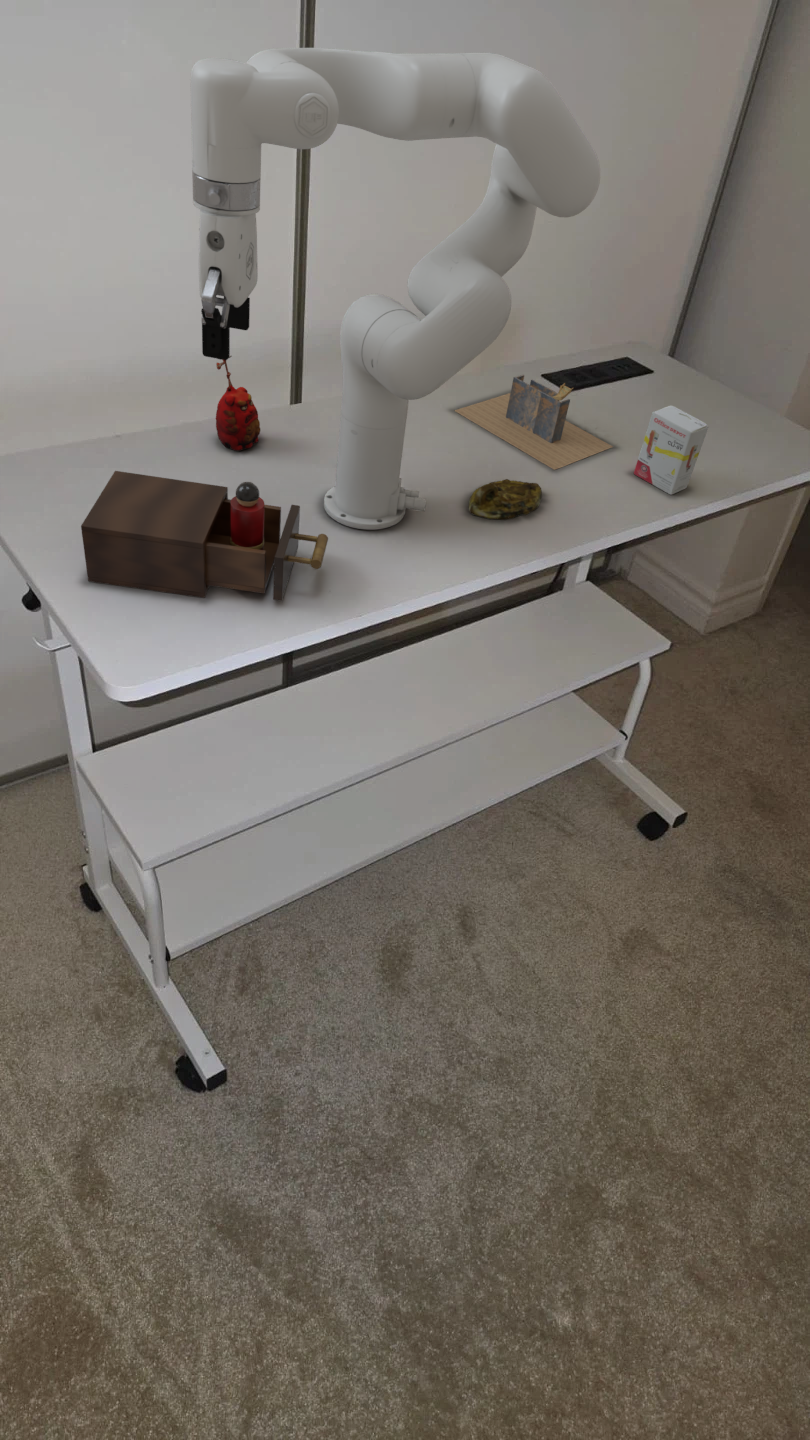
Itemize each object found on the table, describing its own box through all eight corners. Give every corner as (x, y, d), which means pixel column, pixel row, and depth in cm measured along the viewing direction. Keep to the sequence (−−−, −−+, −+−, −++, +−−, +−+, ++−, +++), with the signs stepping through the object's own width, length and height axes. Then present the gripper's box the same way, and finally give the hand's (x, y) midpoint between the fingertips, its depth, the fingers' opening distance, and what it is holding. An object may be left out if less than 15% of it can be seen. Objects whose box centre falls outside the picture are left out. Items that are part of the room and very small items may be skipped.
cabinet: (228, 539, 138) (227, 486, 133) (204, 598, 128) (203, 543, 122) (120, 524, 138) (115, 470, 132) (88, 581, 128) (80, 525, 122)
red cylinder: (268, 552, 134) (270, 476, 126) (261, 573, 130) (263, 496, 122) (233, 547, 134) (232, 471, 126) (225, 567, 130) (224, 490, 122)
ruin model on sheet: (613, 446, 174) (628, 395, 168) (554, 470, 165) (567, 416, 159) (513, 391, 186) (523, 341, 180) (453, 410, 177) (462, 358, 171)
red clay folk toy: (246, 457, 156) (246, 367, 146) (207, 446, 157) (204, 356, 147) (266, 437, 162) (267, 350, 151) (228, 427, 163) (227, 339, 153)
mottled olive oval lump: (515, 483, 162) (451, 507, 154) (518, 457, 159) (454, 479, 151) (557, 503, 157) (494, 528, 149) (561, 476, 154) (497, 500, 146)
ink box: (631, 473, 168) (651, 409, 159) (648, 466, 170) (669, 403, 162) (670, 496, 163) (692, 431, 155) (687, 488, 166) (710, 424, 158)
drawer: (329, 551, 138) (332, 510, 133) (315, 606, 128) (318, 563, 123) (197, 532, 137) (195, 490, 133) (173, 585, 128) (171, 542, 123)
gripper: (240, 219, 102) (238, 375, 114) (276, 178, 115) (271, 322, 127) (170, 207, 102) (176, 364, 114) (214, 167, 115) (215, 312, 127)
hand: (226, 342), depth 120 cm, fingers open, 9 cm apart
